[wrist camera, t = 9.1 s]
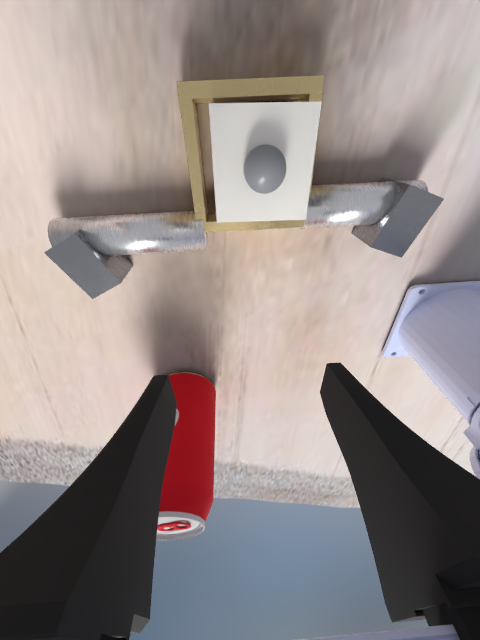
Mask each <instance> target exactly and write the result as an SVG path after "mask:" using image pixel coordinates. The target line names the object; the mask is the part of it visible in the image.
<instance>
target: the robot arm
mask: <svg viewBox="0 0 480 640" xmlns="http://www.w3.org/2000/svg"><path fill="white" fill-rule="evenodd" d="M420 290H421V291H420ZM419 291H420V292H419ZM382 355H383V356H384V357H387V358H388V357H402V356H411V358H412V359H413V360H414V361H415V362H416V363H417V365H418V366H419V367H420V368H421V369H422V370H423V372H424V373H425V374H426V375H427V376H428V377H429V378H430V380H431V381H432V382H433V383H434V384H435V385H436V387H437V388H438V389H439V390H440V391H441V392H442V393H443V395H444V396H445V397H446V398H447V399H448V400H449V402H450V403H451V404H452V405H453V406H454V407H455V409H456V410H457V411H458V412H459V413H460V414H461V415H462V417H463V418H464V419H465V420H466V421H467V422H468V424H469V425H470V426H469V427H468V428H467V429H466V430H465V431H464V434H465V435H466V437H467V438H468V439H469V440H470V442H471V443H472V444H473V445H474V447H473V448H472V449H471V452H470V462H471V466H472V469H473V471H474V474H475V476H476V477H475V476H474V475H472V474H471V473H469V472H468V471H466V470H465V469H463V468H462V467H461V466H459V465H458V464H456V463H455V462H453V461H452V460H451V459H449V458H448V457H446V456H445V455H443V454H442V453H441V452H439V451H438V450H436V449H435V448H434V447H432V446H431V445H430V444H428V443H427V442H426V441H425V440H423V439H422V438H421V437H419V436H418V435H417V434H416V433H414V432H413V431H412V430H411V429H409V428H408V427H407V426H406V425H405V424H404V423H402V422H401V421H400V420H399V419H398V418H397V417H395V416H394V415H393V414H392V413H391V412H390V411H389V410H388V409H387V408H385V407H384V406H383V405H382V404H381V403H380V402H379V401H378V400H377V399H376V398H375V397H374V396H373V395H372V394H371V393H370V392H369V391H368V390H367V389H366V388H365V387H364V386H363V385H362V384H361V383H360V382H359V381H358V380H357V379H356V378H355V377H354V376H353V375H352V374H351V373H350V372H349V371H348V370H347V369H346V368H345V367H344V366H343V365H342V364H341V363H328V364H327V365H326V369H325V374H324V378H323V382H322V386H321V390H320V394H321V398H322V401H323V405H324V408H325V412H326V415H327V417H328V420H329V422H330V425H331V427H332V430H333V432H334V435H335V437H336V439H337V442H338V444H339V447H340V449H341V452H342V454H343V456H344V459H345V461H346V464H347V467H348V469H349V472H350V475H351V478H352V481H353V484H354V488H355V491H356V494H357V497H358V501H359V504H360V507H361V511H362V514H363V518H364V521H365V524H366V528H367V532H368V536H369V540H370V543H371V547H372V551H373V554H374V558H375V562H376V567H377V570H378V575H379V579H380V583H381V587H382V591H383V596H384V600H385V604H386V606H387V610H388V612H389V615H390V618H391V620H392V622H400V621H401V622H402V621H412V620H423V619H426V620H427V623H428V625H429V627H419V628H409V629H399V630H389V631H378V632H367V633H358V634H347V635H336V636H326V637H315V638H305V639H294V640H480V281H468V282H452V283H437V284H421V285H413V286H411V287H410V288H409V289H408V291H407V293H406V295H405V298H404V300H403V303H402V305H401V307H400V310H399V312H398V315H397V317H396V320H395V322H394V324H393V327H392V329H391V332H390V334H389V337H388V339H387V341H386V344H385V346H384V349H383V351H382ZM176 408H177V401H176V398H175V395H174V391H173V388H172V385H171V382H170V379H169V375H157V376H154V377H153V378H152V380H151V381H150V383H149V385H148V386H147V388H146V389H145V391H144V392H143V394H142V396H141V397H140V399H139V400H138V402H137V403H136V405H135V406H134V408H133V409H132V411H131V412H130V413H129V415H128V416H127V418H126V419H125V421H124V422H123V423H122V425H121V426H120V427H119V429H118V430H117V431H116V433H115V434H114V435H113V437H112V438H111V439H110V441H109V442H108V443H107V445H106V446H105V447H104V448H103V449H102V451H101V452H100V453H99V454H98V456H97V457H96V458H95V459H94V460H93V461H92V463H91V464H90V465H89V466H88V467H87V468H86V469H85V471H84V472H83V473H82V474H81V475H80V476H79V477H78V478H77V479H76V480H75V481H74V483H73V484H72V485H71V486H70V487H69V488H68V489H67V490H66V491H65V492H64V493H63V494H62V495H61V496H60V497H59V498H58V500H56V501H55V502H54V503H53V504H52V505H51V506H50V507H49V508H48V509H47V510H46V511H45V512H44V513H43V514H42V515H41V516H40V517H39V518H38V519H37V520H36V521H35V522H34V523H33V524H32V525H31V526H30V527H28V528H27V529H26V530H25V531H24V532H23V533H22V534H21V535H20V536H19V537H18V538H17V539H16V540H14V541H13V542H12V543H11V544H10V545H9V546H7V547H6V548H5V549H4V550H3V551H2V552H1V553H0V640H129V637H130V634H133V633H140V632H141V631H142V630H143V628H144V627H145V626H146V624H147V623H148V621H149V620H150V606H151V593H152V579H153V567H154V556H155V545H156V535H157V526H158V517H159V508H160V500H161V492H162V485H163V479H164V474H165V470H166V465H167V460H168V455H169V451H170V446H171V441H172V436H173V432H174V427H175V419H176Z"/></svg>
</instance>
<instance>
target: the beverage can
mask: <svg viewBox="0 0 480 640" xmlns="http://www.w3.org/2000/svg"><path fill="white" fill-rule="evenodd" d="M169 379H170V382H171V385H172V388H173V391H174V395H175V398H176V401H177V408H176V419H175V427H174V432H173V436H172V441H171V446H170V451H169V455H168V460H167V465H166V470H165V474H164V479H163V485H162V492H161V500H160V508H159V517H158V526H157V535H156V540H178V539H184V538H189V537H193V536H195V535H198V534H200V533H201V532H202V531H203V530H204V528H205V521H206V518H207V516H208V513H209V511H210V509H211V506H212V502H213V485H214V443H215V401H216V390H215V387H214V385H213V384H212V383H211V382H210V381H209V380H208V379H207V378H205V377H203V376H201V375H199V374H196V373H190V372H179V373H174V374H170V375H169Z"/></svg>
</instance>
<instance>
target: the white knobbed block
mask: <svg viewBox="0 0 480 640" xmlns="http://www.w3.org/2000/svg"><path fill="white" fill-rule="evenodd" d="M321 103H322V102H262V103H209V117H210V132H211V146H212V160H213V175H214V189H215V203H216V218H217V223H221V222H251V221H281V220H306V215H307V208H308V200H309V193H310V185H311V178H312V171H313V163H314V156H315V148H316V141H317V133H318V126H319V118H320V111H321Z"/></svg>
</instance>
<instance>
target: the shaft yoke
mask: <svg viewBox="0 0 480 640" xmlns="http://www.w3.org/2000/svg"><path fill="white" fill-rule="evenodd" d="M324 76H325V75H318V76H295V77H272V78H248V79H225V80H202V81H178V82H177V88H178V96H179V103H180V110H181V117H182V124H183V132H184V139H185V146H186V153H187V160H188V168H189V175H190V182H191V189H192V197H193V204H194V211H180V212H162V213H144V214H125V215H107V216H89V217H71V218H54V219H52V220H51V221H50V223H49V225H48V236H49V240H50V243H51V245H52V248H51V249H49V250H48V251H46V252H45V254H46V255H47V256H48V257H49V258H50V259H51V260H52V261H53V262H54V263H56V264H57V265H58V266H59V267H60V268H61V269H62V270H63V271H64V272H65V273H66V274H67V275H68V276H69V277H70V278H71V279H72V280H73V281H74V282H75V283H76V284H77V285H79V286H80V287H81V288H82V289H83V290H84V291H85V292H86V293H87V294H88V295H89V296H90V297H91V298H92V299H93V298H95V297H97V296H99V295H100V294H102V293H104V292H106V291H108V290H109V289H111V288H113V287H115V286H117V285H118V284H120V283H121V282H122V281H123V279H124V278H125V276H126V275H127V274H128V272H129V271H130V269H131V268H132V266H133V264H132V263H131V262H130V261H129V259H128V258H127V257H126V256H125V255H135V254H152V253H169V252H186V251H203V250H208V237H207V232H225V231H242V230H260V229H278V228H295V227H300V228H301V229H304V228H322V227H339V226H355V228H354V230H353V232H352V234H353V235H355V236H356V237H358V238H359V239H360V240H362V241H363V242H364V243H366V244H367V245H369V246H370V247H372V248H375V249H378V250H381V251H384V252H387V253H390V254H393V255H396V256H399V257H402V256H403V255H404V253H405V252H406V251H407V249H408V248H409V247H410V245H411V244H412V242H413V241H414V240H415V238H416V237H417V235H418V234H419V233H420V231H421V230H422V229H423V227H424V226H425V224H426V223H427V222H428V220H429V219H430V217H431V216H432V215H433V213H434V212H435V211H436V209H437V208H438V206H439V205H440V204H441V202H442V201H443V198H441V197H439V196H436V195H434V194H431V193H429V192H428V188H427V185H426V183H425V182H424V181H422V180H406V181H394V180H390V179H386V178H383V179H382V181H381V182H369V183H350V184H331V185H312V178H313V171H312V178H311V185H310V193H309V200H308V208H307V215H306V220H281V221H251V222H221V223H217V218H216V214H208V211H207V202H206V193H205V183H204V174H203V165H202V156H201V147H200V138H199V129H198V120H197V110H196V104H202V103H225V102H247V101H269V100H291V99H299V102H321V101H322V93H323V84H324ZM318 127H319V126H318ZM317 135H318V133H317ZM316 144H317V141H316ZM315 152H316V148H315ZM314 161H315V156H314ZM313 169H314V163H313Z"/></svg>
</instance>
